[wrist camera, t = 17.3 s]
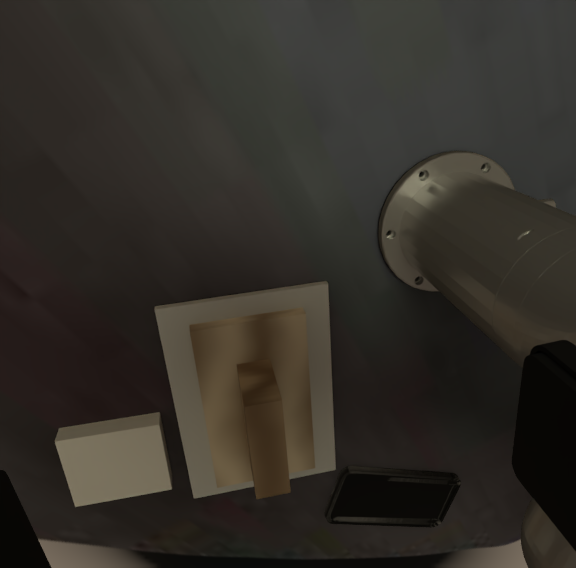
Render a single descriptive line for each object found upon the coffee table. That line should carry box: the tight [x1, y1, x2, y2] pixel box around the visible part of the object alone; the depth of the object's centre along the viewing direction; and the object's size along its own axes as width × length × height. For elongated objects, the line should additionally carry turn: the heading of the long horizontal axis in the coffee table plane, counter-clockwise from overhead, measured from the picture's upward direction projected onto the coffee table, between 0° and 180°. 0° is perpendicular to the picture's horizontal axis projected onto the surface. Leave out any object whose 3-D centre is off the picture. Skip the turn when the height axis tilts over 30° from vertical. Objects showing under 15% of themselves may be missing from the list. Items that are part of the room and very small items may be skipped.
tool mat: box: [155, 281, 336, 499], centre depth 49 cm, size 15×22×1 cm
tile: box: [55, 412, 172, 507], centre depth 48 cm, size 9×2×8 cm
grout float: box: [189, 307, 315, 499], centre depth 45 cm, size 10×18×7 cm, turn 4°
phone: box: [325, 466, 461, 527], centre depth 59 cm, size 8×1×15 cm
